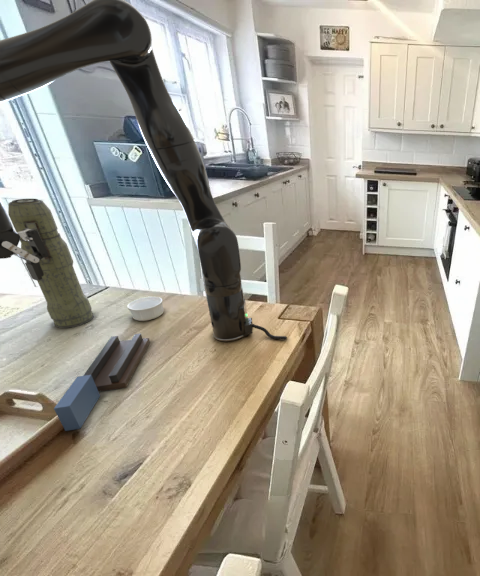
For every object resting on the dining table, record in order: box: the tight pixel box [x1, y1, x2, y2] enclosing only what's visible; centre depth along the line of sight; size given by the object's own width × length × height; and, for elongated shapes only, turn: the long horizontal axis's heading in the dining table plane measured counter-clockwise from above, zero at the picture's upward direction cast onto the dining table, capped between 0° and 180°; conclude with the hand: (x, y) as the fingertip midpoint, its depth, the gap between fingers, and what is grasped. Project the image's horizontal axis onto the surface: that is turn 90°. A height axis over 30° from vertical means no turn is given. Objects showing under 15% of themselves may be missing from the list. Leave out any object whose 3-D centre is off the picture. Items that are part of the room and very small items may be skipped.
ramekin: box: [126, 295, 164, 322], centre depth 100 cm, size 9×9×4 cm
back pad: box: [53, 375, 101, 432], centre depth 65 cm, size 2×9×6 cm, turn 18°
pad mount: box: [82, 333, 151, 393], centre depth 79 cm, size 9×18×4 cm, turn 18°
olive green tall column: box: [7, 198, 95, 329], centre depth 88 cm, size 9×12×35 cm
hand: (11, 287), depth 65 cm, fingers open, 8 cm apart
